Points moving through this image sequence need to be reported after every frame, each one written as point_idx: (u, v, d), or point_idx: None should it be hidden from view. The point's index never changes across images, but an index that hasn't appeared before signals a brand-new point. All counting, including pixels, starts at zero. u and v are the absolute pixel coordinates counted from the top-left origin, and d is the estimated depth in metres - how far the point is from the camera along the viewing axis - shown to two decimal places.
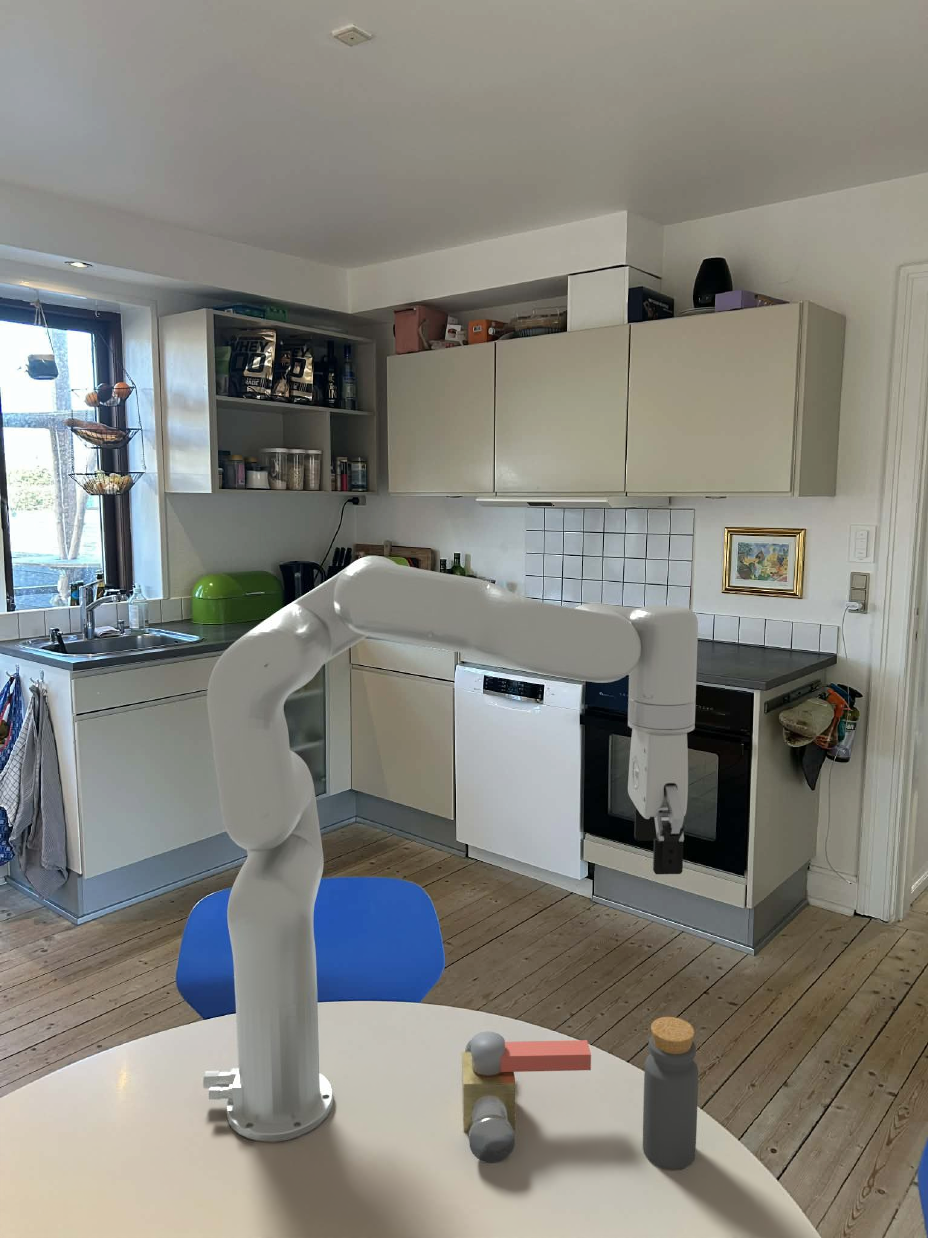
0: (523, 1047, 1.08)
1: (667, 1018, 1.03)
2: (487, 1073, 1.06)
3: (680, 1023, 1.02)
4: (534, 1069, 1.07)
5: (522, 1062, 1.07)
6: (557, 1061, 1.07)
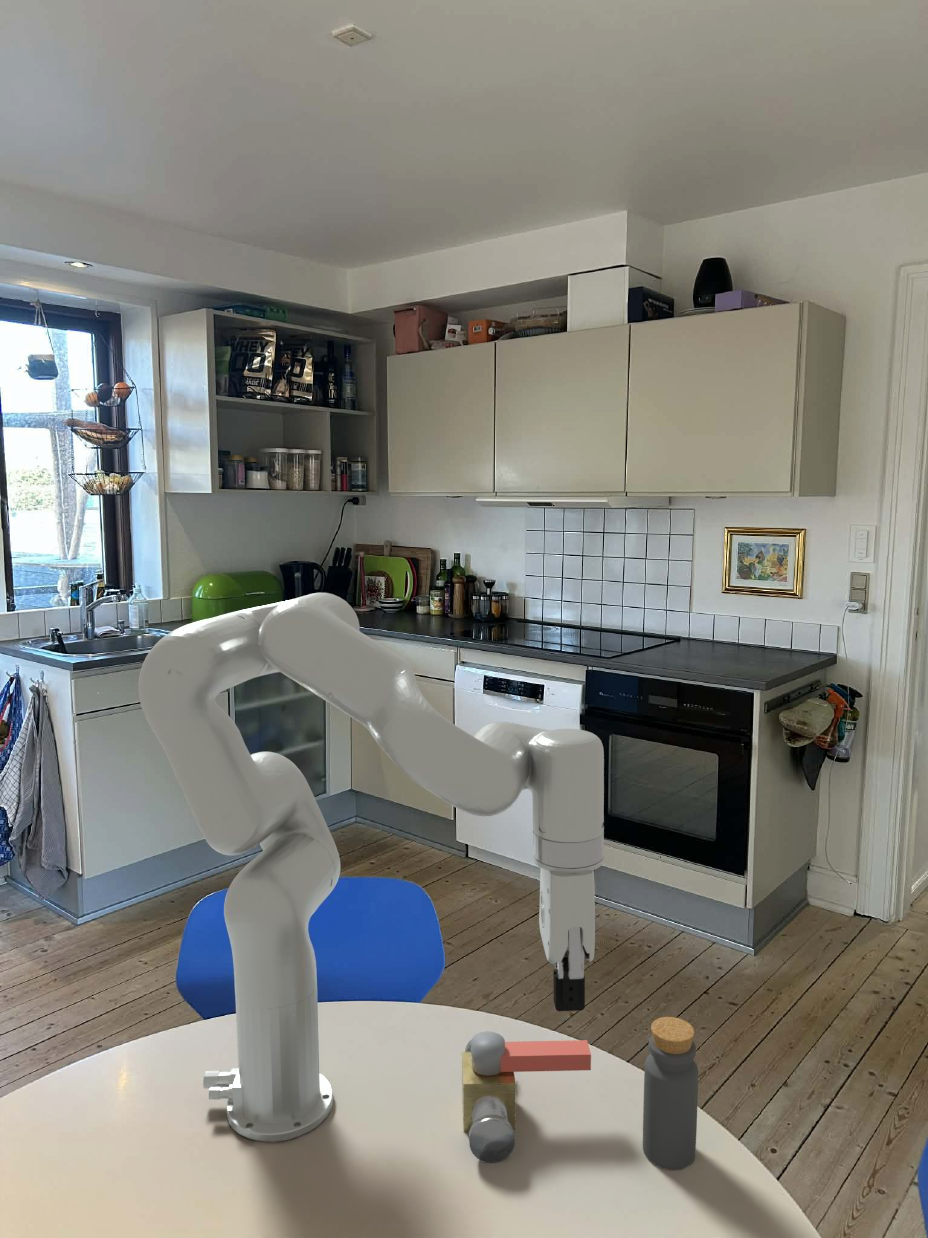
0: (523, 1047, 1.08)
1: (667, 1018, 1.03)
2: (487, 1073, 1.06)
3: (680, 1023, 1.02)
4: (534, 1069, 1.07)
5: (522, 1062, 1.07)
6: (557, 1061, 1.07)
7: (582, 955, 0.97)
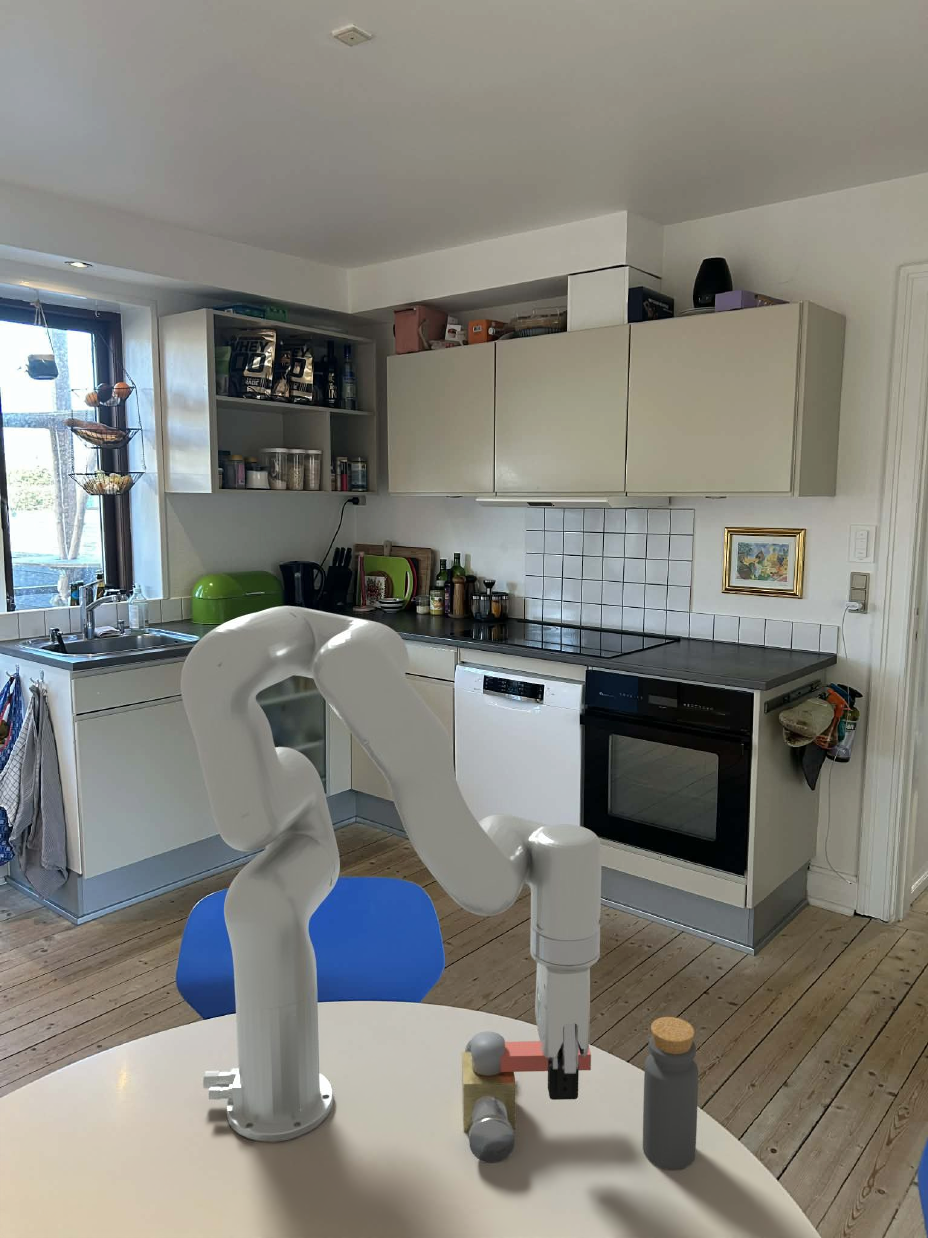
0: (523, 1047, 1.08)
1: (667, 1018, 1.03)
2: (487, 1073, 1.06)
3: (680, 1023, 1.02)
4: (534, 1069, 1.07)
5: (522, 1062, 1.07)
6: None
7: (576, 1047, 0.99)
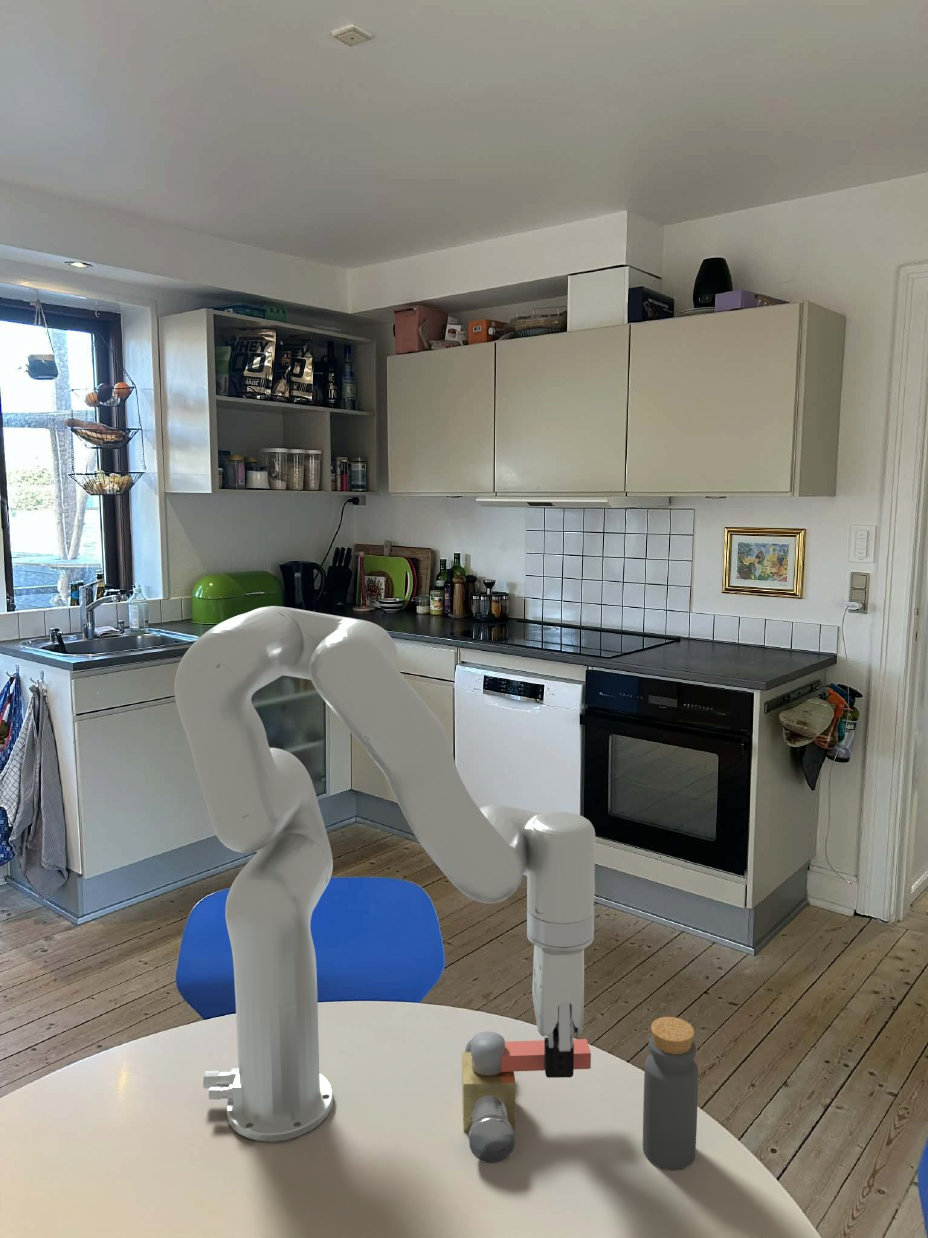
0: (523, 1047, 1.08)
1: (667, 1018, 1.03)
2: (487, 1073, 1.06)
3: (680, 1023, 1.02)
4: (534, 1068, 1.07)
5: (522, 1062, 1.07)
6: None
7: (571, 1027, 1.02)
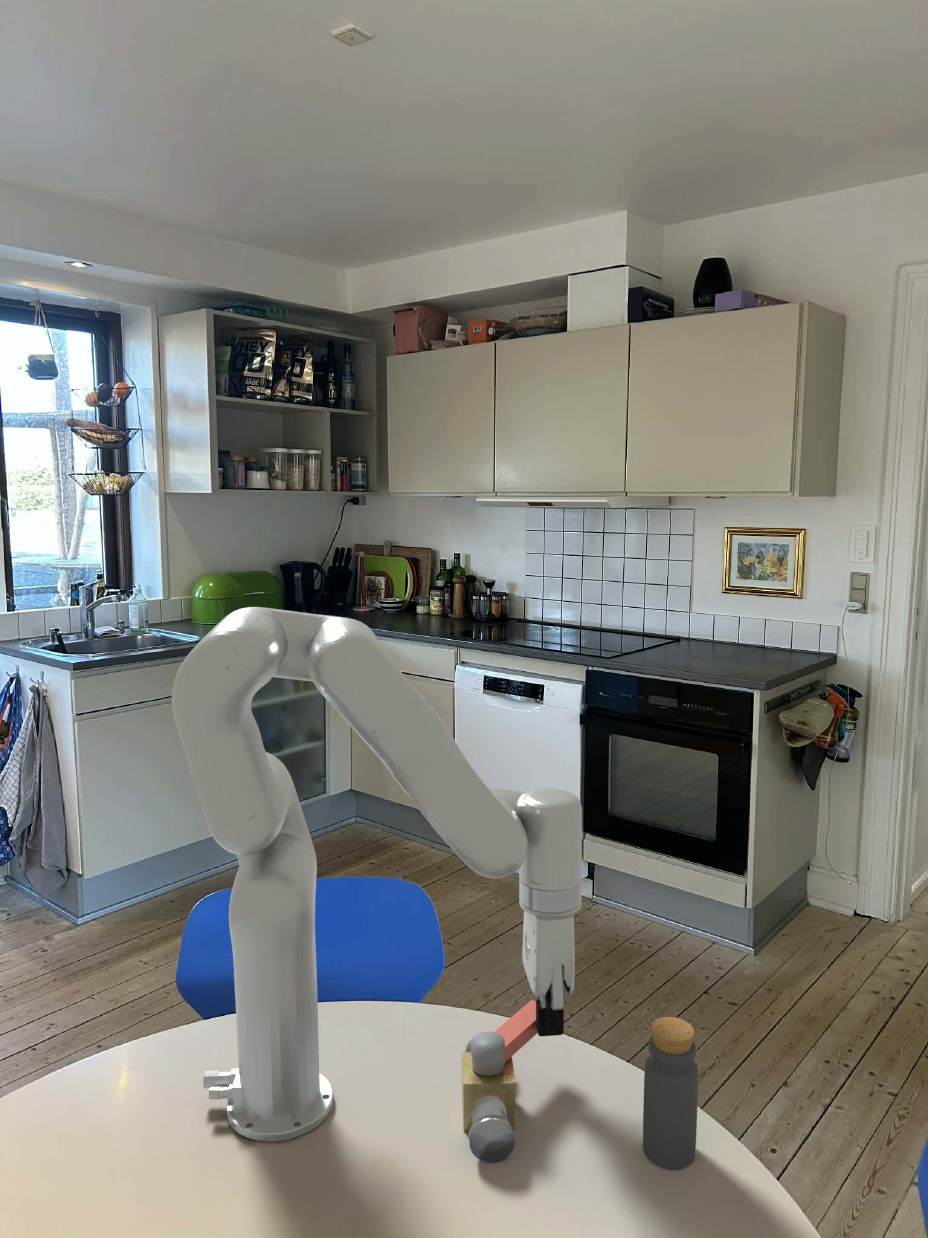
0: (506, 1031, 1.11)
1: (667, 1018, 1.03)
2: (500, 1069, 1.07)
3: (680, 1023, 1.02)
4: (522, 1045, 1.12)
5: (516, 1043, 1.10)
6: (534, 1027, 1.14)
7: (562, 987, 1.10)
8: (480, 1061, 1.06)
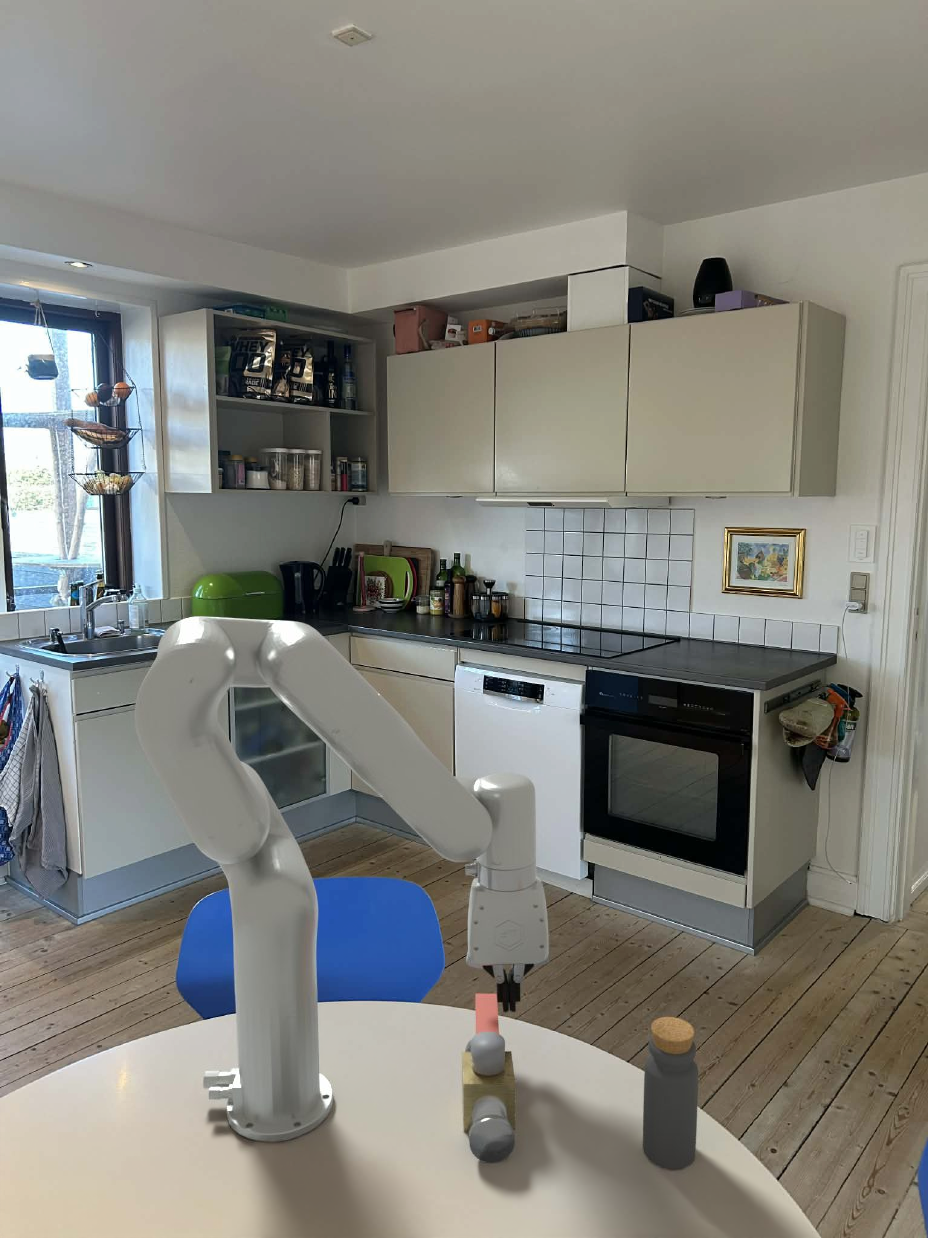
0: (485, 1028, 1.12)
1: (667, 1018, 1.03)
2: (504, 1063, 1.08)
3: (680, 1023, 1.02)
4: None
5: None
6: None
7: None
8: (490, 1062, 1.06)
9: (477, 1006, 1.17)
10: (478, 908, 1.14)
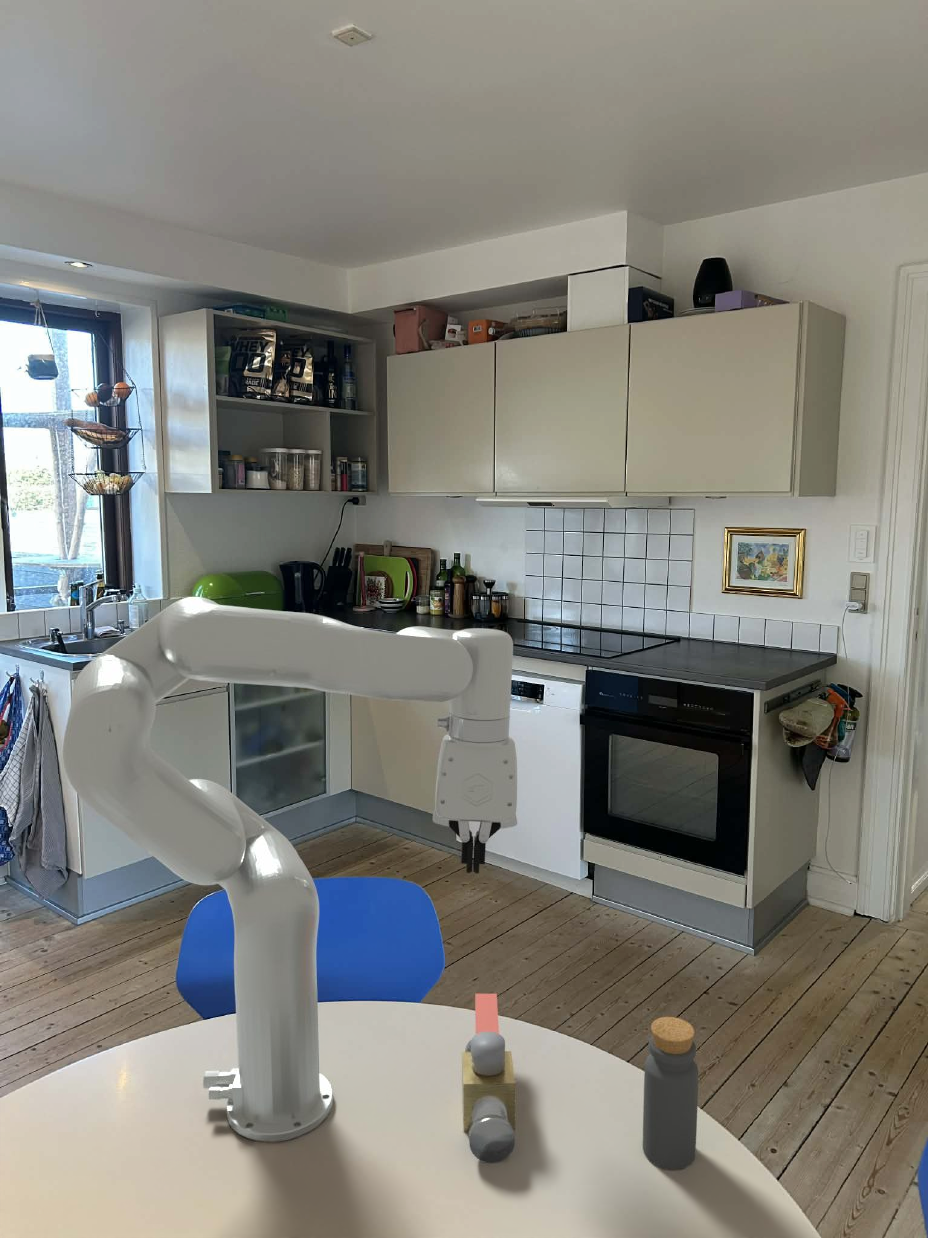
0: (485, 1028, 1.12)
1: (667, 1018, 1.03)
2: (504, 1063, 1.08)
3: (680, 1023, 1.02)
4: None
5: None
6: None
7: None
8: (490, 1062, 1.06)
9: (477, 1006, 1.17)
10: (447, 759, 1.12)
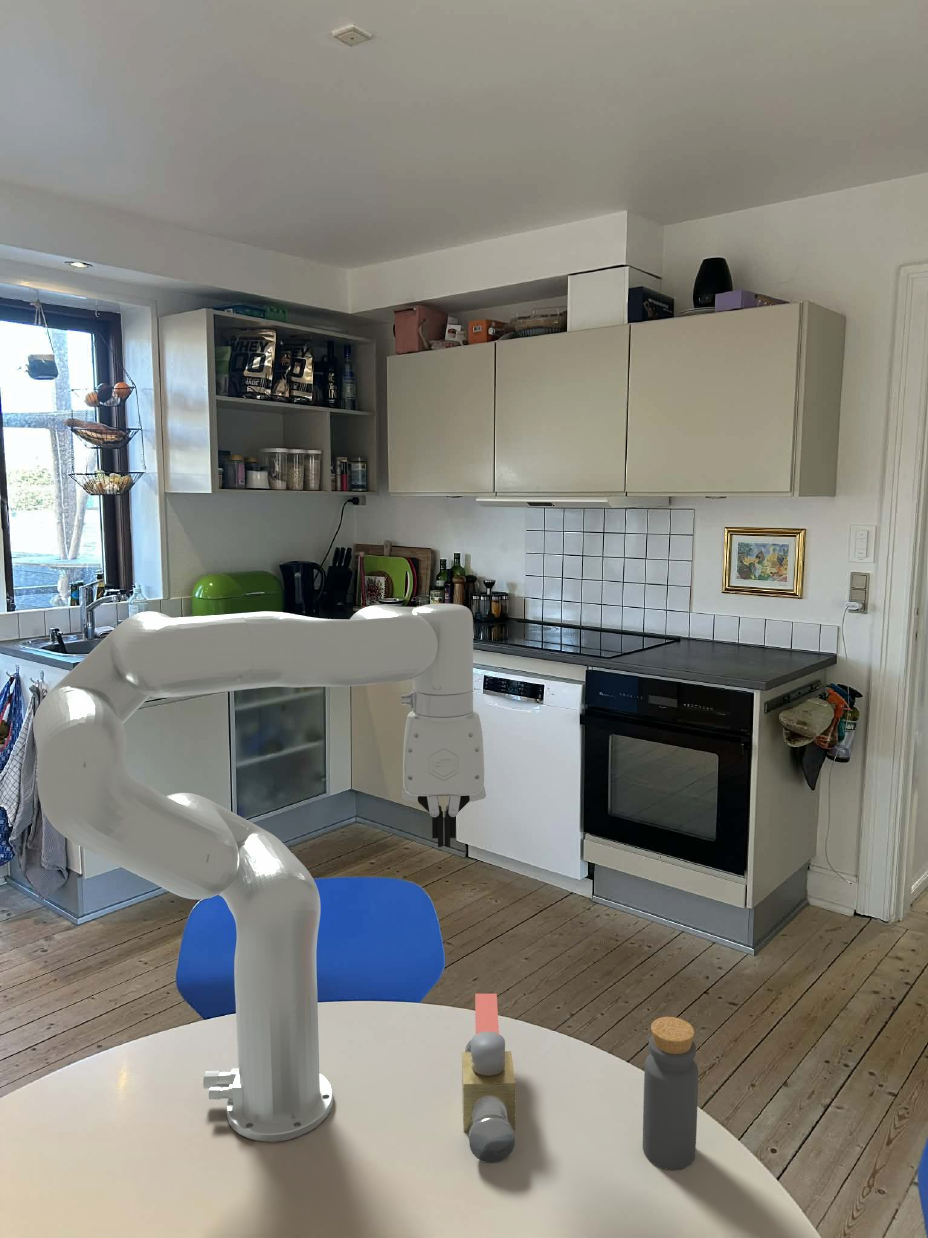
0: (485, 1028, 1.12)
1: (667, 1018, 1.03)
2: (504, 1063, 1.08)
3: (680, 1023, 1.02)
4: None
5: None
6: None
7: None
8: (490, 1062, 1.06)
9: (477, 1006, 1.17)
10: (413, 736, 1.12)
